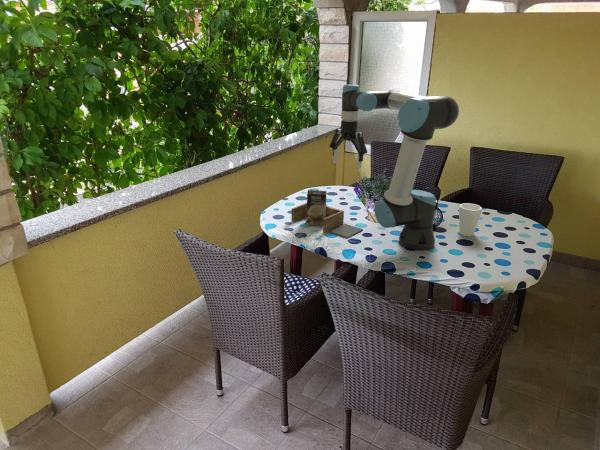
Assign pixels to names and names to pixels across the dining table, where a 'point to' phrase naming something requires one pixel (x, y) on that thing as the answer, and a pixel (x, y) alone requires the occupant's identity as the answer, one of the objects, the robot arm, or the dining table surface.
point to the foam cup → (468, 218)
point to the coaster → (346, 231)
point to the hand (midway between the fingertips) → (347, 165)
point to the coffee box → (316, 208)
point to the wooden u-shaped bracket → (329, 222)
